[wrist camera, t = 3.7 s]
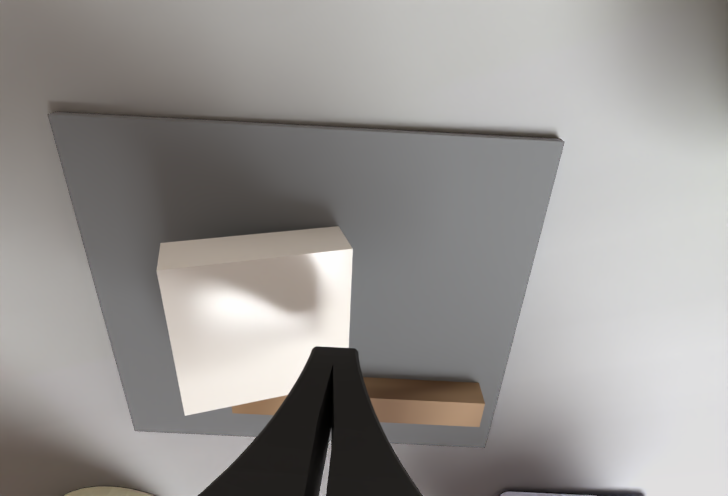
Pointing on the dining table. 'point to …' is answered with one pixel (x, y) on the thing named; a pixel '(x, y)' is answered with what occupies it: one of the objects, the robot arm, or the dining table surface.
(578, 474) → the dining table surface
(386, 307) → the mat
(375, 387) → the wooden plank
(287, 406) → the robot arm
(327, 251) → the tile
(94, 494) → the reusable coffee cup
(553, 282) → the dining table surface
